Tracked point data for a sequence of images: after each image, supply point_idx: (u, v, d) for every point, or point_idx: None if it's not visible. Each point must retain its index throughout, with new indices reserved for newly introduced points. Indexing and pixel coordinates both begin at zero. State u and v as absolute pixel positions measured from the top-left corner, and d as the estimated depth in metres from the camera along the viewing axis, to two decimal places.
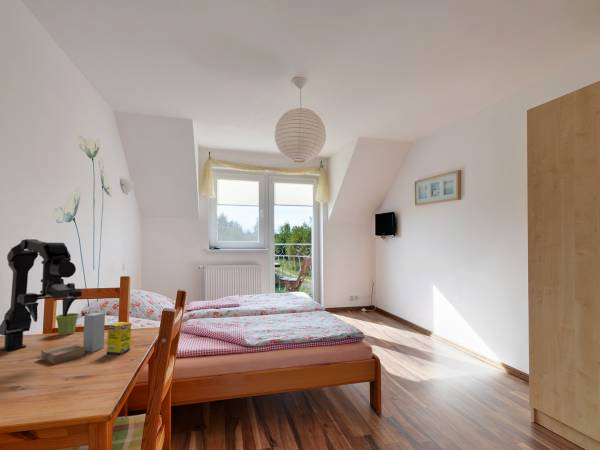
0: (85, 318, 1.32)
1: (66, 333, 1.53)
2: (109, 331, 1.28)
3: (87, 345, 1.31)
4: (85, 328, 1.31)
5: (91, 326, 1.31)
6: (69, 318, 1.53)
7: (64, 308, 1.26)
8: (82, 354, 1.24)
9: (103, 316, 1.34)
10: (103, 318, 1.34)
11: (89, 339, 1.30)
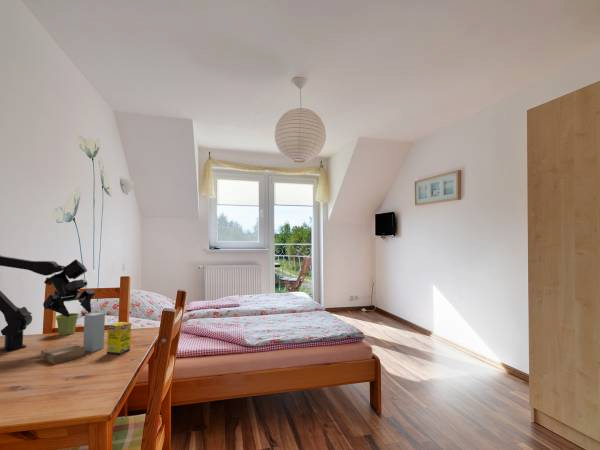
0: (85, 318, 1.32)
1: (66, 333, 1.53)
2: (109, 331, 1.28)
3: (87, 345, 1.31)
4: (85, 328, 1.31)
5: (91, 326, 1.31)
6: (69, 318, 1.53)
7: (86, 306, 1.41)
8: (82, 354, 1.24)
9: (103, 316, 1.34)
10: (103, 318, 1.34)
11: (89, 339, 1.30)
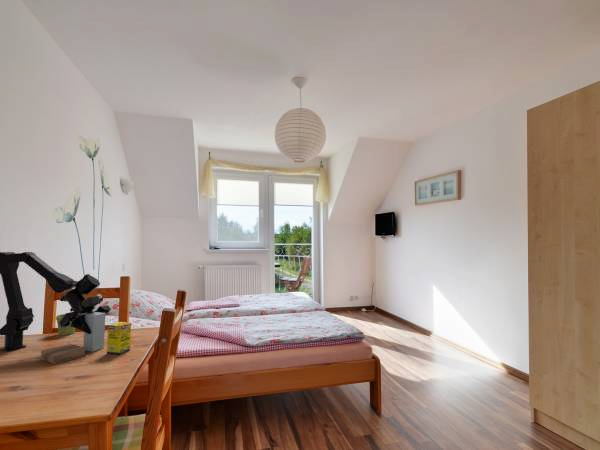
0: (86, 318, 1.32)
1: (66, 333, 1.53)
2: (109, 331, 1.28)
3: (87, 345, 1.31)
4: None
5: (91, 326, 1.31)
6: None
7: None
8: (82, 354, 1.24)
9: (104, 316, 1.35)
10: (103, 318, 1.34)
11: (89, 339, 1.31)
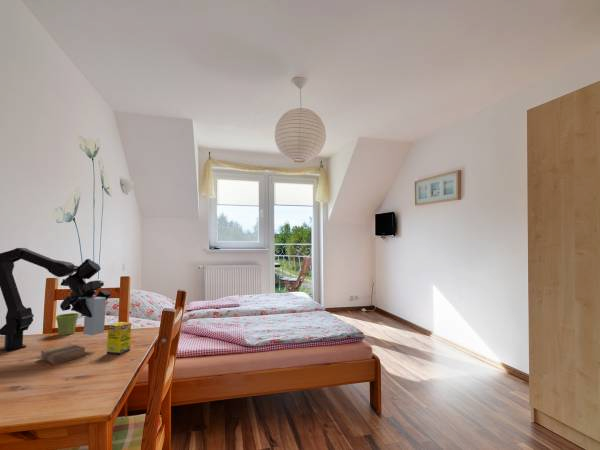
0: (86, 302, 1.32)
1: (66, 333, 1.53)
2: (109, 331, 1.28)
3: (88, 329, 1.31)
4: None
5: (91, 310, 1.31)
6: (69, 318, 1.53)
7: None
8: (82, 354, 1.24)
9: (104, 300, 1.35)
10: (104, 302, 1.35)
11: (89, 323, 1.31)
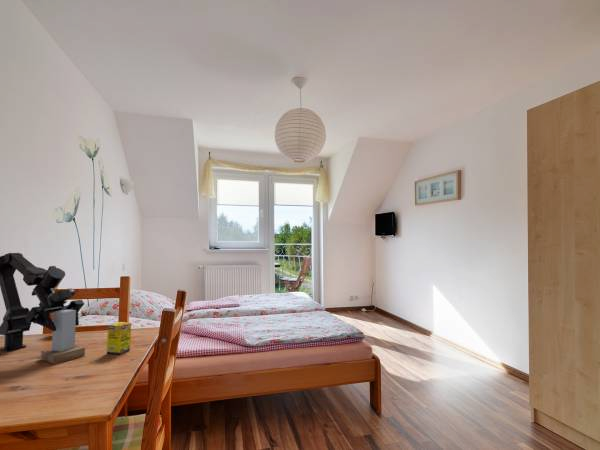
0: (54, 315, 1.23)
1: None
2: (109, 331, 1.28)
3: (56, 344, 1.21)
4: None
5: (60, 324, 1.21)
6: None
7: None
8: (82, 354, 1.24)
9: (74, 313, 1.25)
10: (74, 315, 1.25)
11: (58, 338, 1.21)
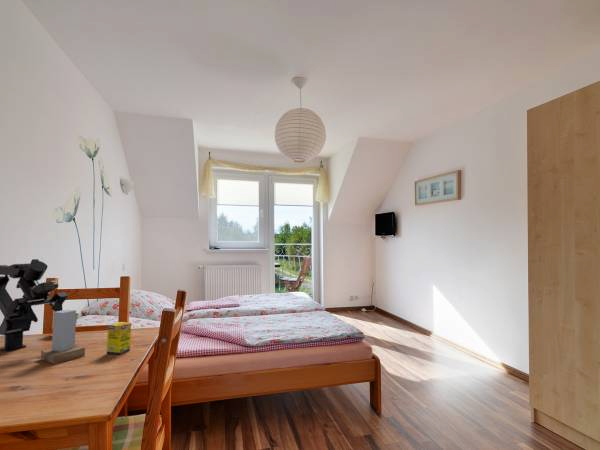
0: (54, 315, 1.22)
1: None
2: (109, 331, 1.28)
3: (56, 345, 1.21)
4: (54, 326, 1.22)
5: (60, 324, 1.21)
6: None
7: (58, 310, 1.32)
8: (82, 354, 1.24)
9: (74, 313, 1.25)
10: (74, 315, 1.25)
11: (58, 338, 1.21)
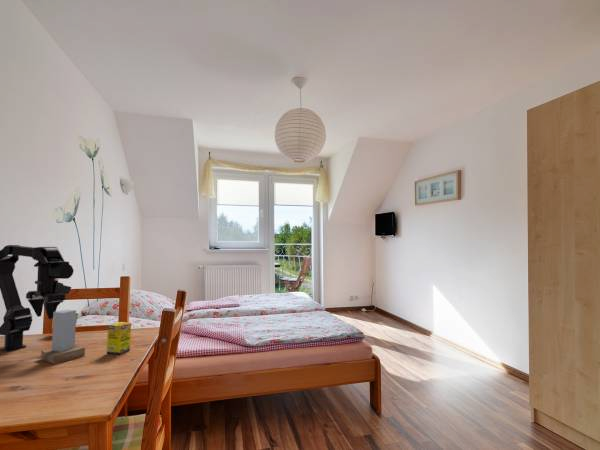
0: (54, 315, 1.22)
1: None
2: (109, 331, 1.28)
3: (56, 345, 1.21)
4: (54, 326, 1.22)
5: (60, 324, 1.21)
6: None
7: (38, 308, 1.34)
8: (82, 354, 1.24)
9: (74, 313, 1.25)
10: (74, 315, 1.25)
11: (58, 338, 1.21)
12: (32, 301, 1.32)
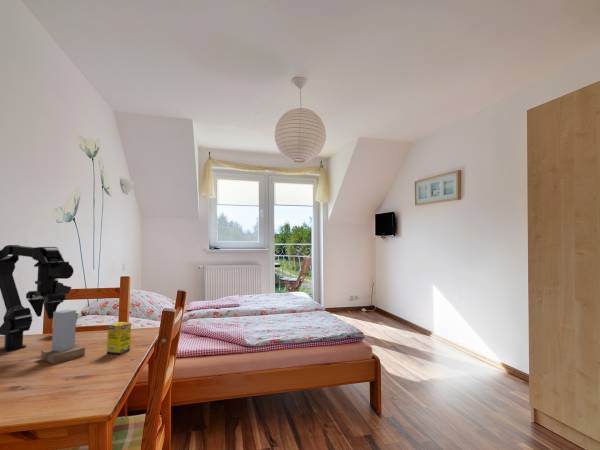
0: (54, 315, 1.22)
1: None
2: (109, 331, 1.28)
3: (56, 345, 1.21)
4: (54, 326, 1.22)
5: (60, 324, 1.21)
6: None
7: (38, 308, 1.34)
8: (82, 354, 1.24)
9: (74, 313, 1.25)
10: (74, 315, 1.25)
11: (58, 338, 1.21)
12: (32, 301, 1.32)
